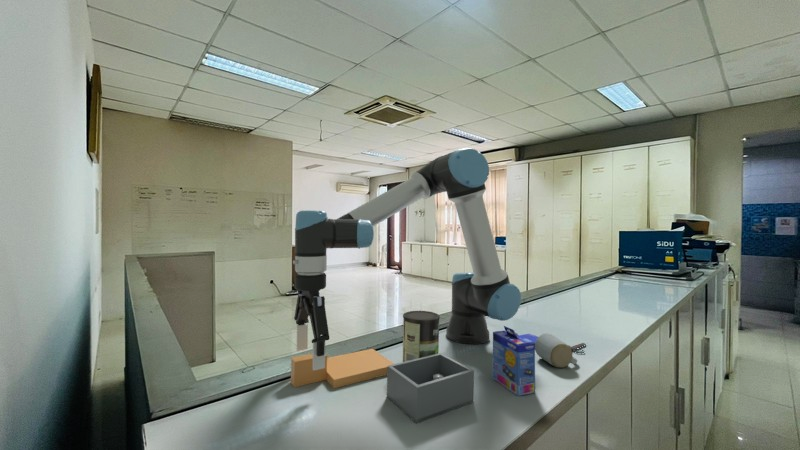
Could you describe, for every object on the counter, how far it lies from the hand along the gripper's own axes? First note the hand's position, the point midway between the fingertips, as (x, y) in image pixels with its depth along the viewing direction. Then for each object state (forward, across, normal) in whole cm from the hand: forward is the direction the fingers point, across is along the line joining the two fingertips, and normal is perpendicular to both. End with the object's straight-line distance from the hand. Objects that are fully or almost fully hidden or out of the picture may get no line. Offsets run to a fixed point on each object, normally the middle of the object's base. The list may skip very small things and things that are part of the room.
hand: (309, 358), depth 81 cm
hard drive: (+7, +8, +73) cm, 74 cm away
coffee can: (+6, +6, +30) cm, 31 cm away
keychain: (+8, +21, +81) cm, 84 cm away
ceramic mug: (+7, +24, +66) cm, 71 cm away
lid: (+6, 0, +8) cm, 10 cm away
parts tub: (+6, +22, +20) cm, 31 cm away
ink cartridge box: (+6, +27, +42) cm, 51 cm away
